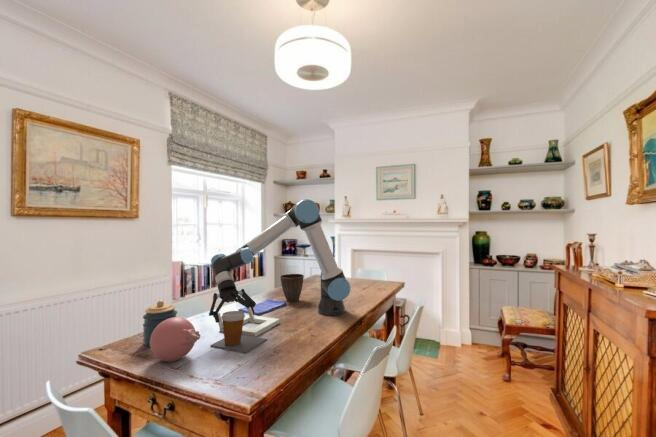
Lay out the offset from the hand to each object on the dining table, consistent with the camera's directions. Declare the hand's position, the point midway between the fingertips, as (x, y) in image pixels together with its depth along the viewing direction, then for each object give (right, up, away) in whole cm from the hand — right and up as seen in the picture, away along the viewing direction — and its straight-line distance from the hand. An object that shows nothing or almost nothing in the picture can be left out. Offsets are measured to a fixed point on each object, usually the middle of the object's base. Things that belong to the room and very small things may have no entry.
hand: (238, 325), depth 129 cm
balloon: (-18, -8, -15) cm, 25 cm away
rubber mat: (+1, -7, 0) cm, 8 cm away
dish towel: (0, -8, +51) cm, 52 cm away
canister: (-34, -8, +3) cm, 35 cm away
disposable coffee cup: (-2, -7, -2) cm, 7 cm away
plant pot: (+15, -8, +66) cm, 68 cm away
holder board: (0, -8, +19) cm, 21 cm away
